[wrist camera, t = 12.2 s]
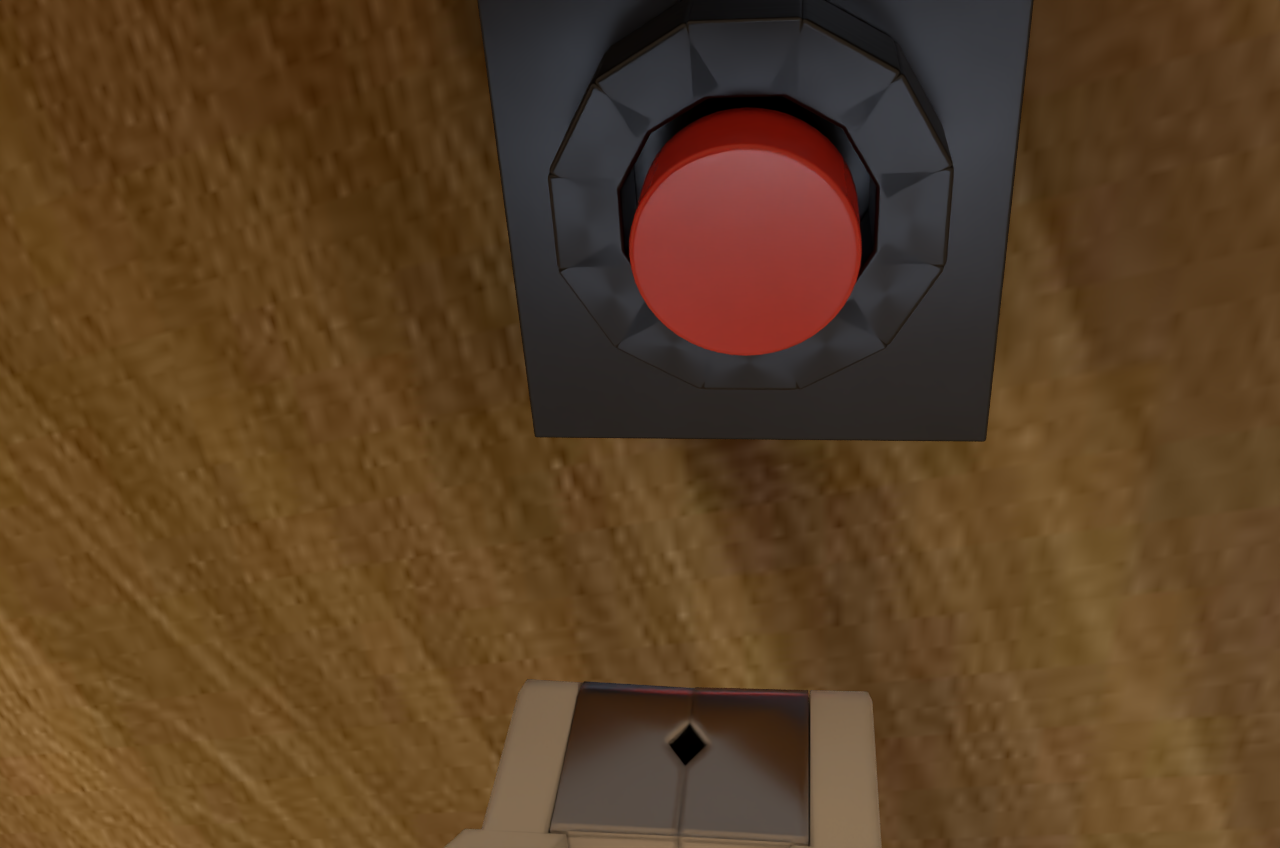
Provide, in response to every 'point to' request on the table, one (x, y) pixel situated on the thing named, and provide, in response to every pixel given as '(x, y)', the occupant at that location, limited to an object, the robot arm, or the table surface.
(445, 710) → the table surface
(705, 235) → the button
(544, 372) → the control block
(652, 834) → the robot arm
